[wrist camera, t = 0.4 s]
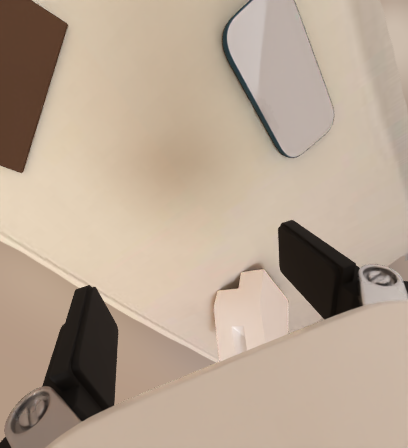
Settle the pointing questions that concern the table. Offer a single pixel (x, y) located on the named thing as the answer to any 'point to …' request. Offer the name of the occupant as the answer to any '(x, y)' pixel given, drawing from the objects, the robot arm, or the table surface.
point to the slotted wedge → (249, 314)
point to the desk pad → (24, 74)
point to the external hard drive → (279, 73)
